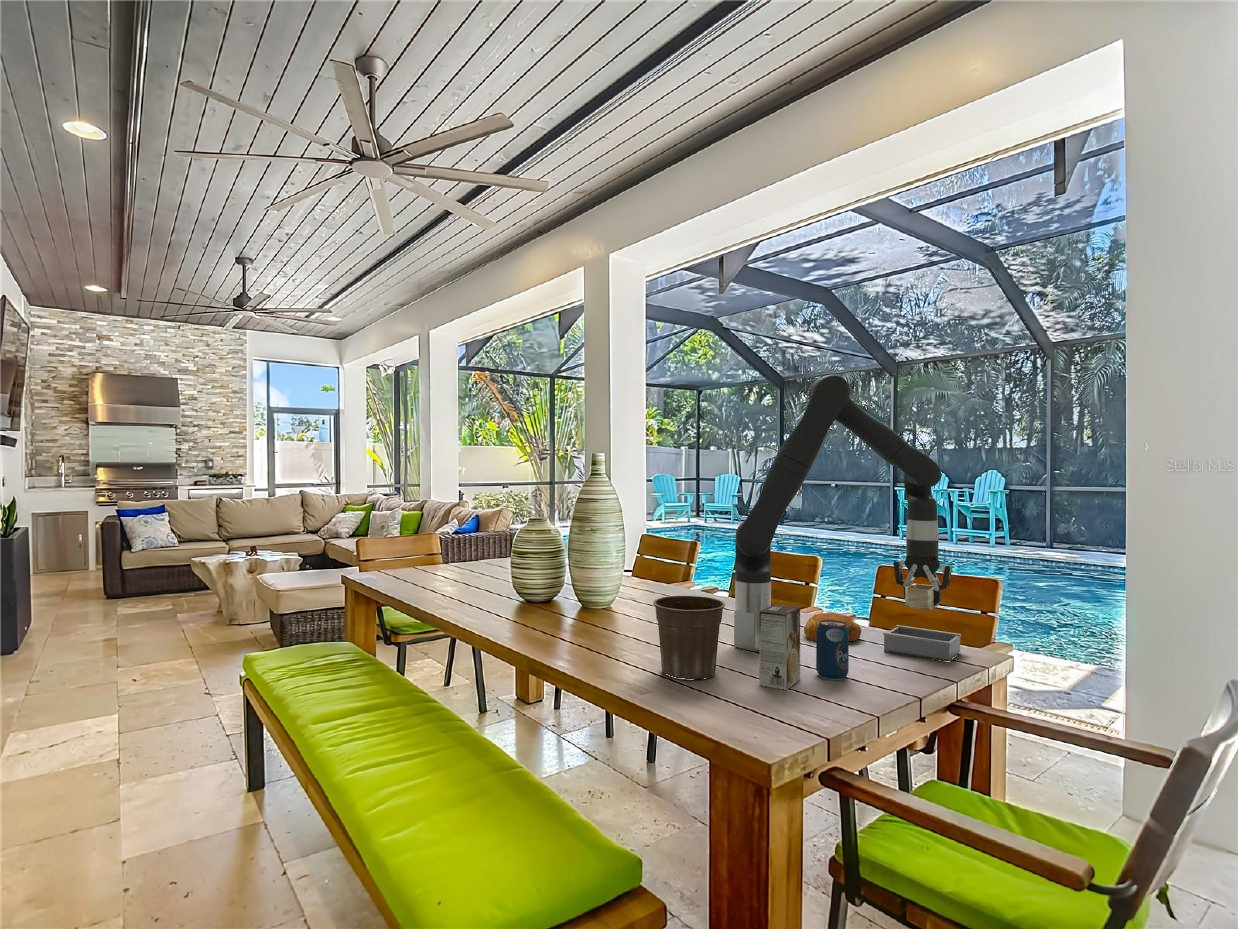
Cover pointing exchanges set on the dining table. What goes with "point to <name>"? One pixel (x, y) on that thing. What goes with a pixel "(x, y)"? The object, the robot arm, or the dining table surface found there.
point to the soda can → (832, 650)
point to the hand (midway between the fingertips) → (922, 603)
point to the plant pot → (688, 635)
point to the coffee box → (779, 646)
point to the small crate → (920, 596)
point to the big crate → (922, 643)
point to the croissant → (814, 621)
